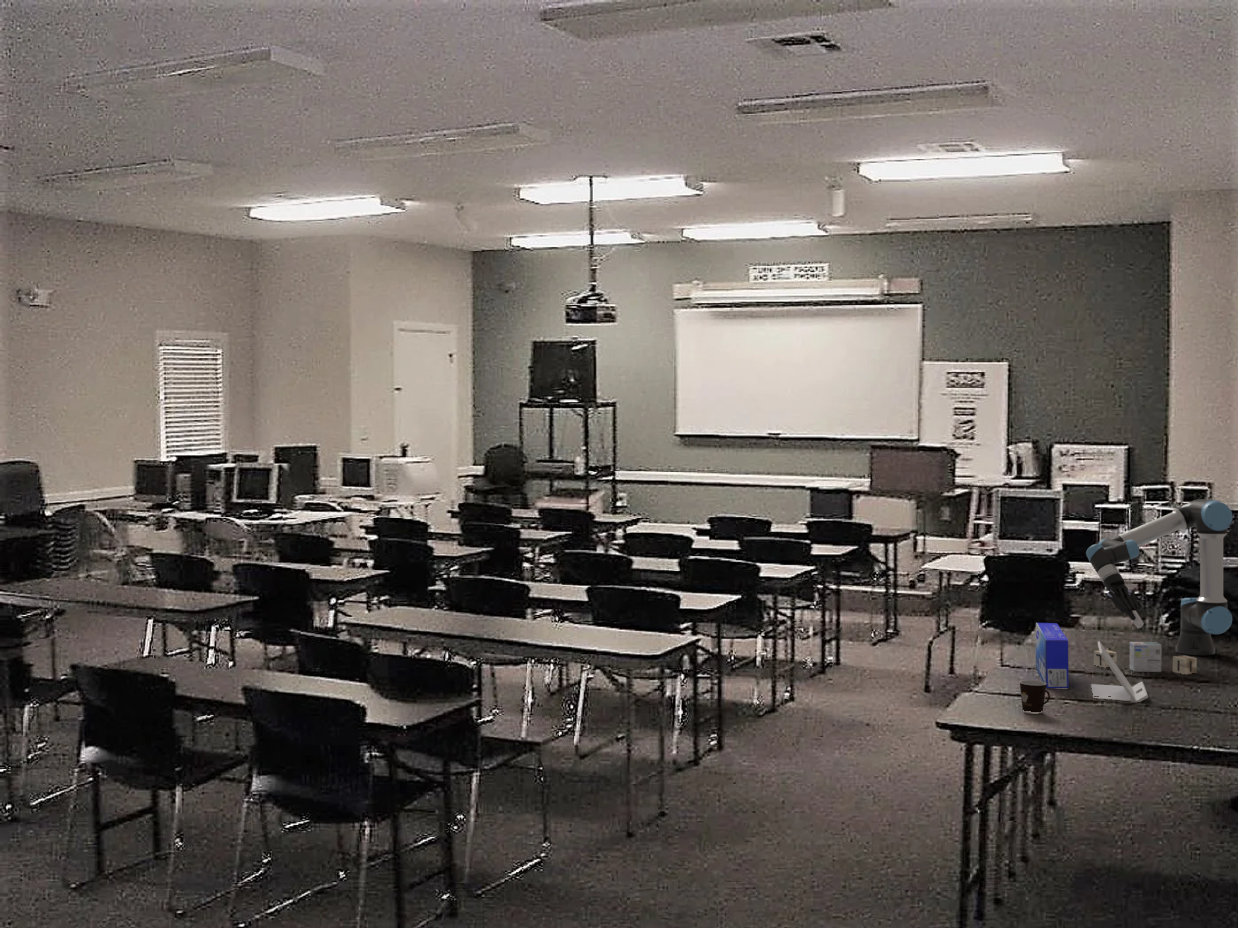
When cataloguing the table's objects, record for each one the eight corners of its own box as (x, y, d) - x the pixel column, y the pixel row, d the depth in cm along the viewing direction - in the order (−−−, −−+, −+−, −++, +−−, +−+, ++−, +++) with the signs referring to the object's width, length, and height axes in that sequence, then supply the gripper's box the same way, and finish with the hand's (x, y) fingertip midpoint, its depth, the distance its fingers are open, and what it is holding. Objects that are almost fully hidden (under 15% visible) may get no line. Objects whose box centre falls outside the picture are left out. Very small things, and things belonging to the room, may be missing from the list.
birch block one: (1184, 670, 524) (1184, 655, 524) (1196, 673, 518) (1197, 658, 518) (1172, 671, 522) (1172, 656, 521) (1184, 674, 516) (1184, 659, 516)
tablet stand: (1093, 700, 471) (1094, 651, 470) (1090, 686, 495) (1091, 640, 494) (1148, 703, 465) (1149, 654, 465) (1143, 689, 489) (1144, 642, 489)
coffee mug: (1016, 709, 455) (1016, 679, 455) (1041, 709, 455) (1042, 680, 454) (1025, 717, 443) (1026, 687, 443) (1051, 717, 443) (1052, 687, 443)
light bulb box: (1156, 669, 527) (1157, 641, 526) (1161, 672, 520) (1162, 644, 520) (1128, 668, 528) (1129, 641, 528) (1133, 671, 521) (1133, 644, 521)
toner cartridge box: (1034, 668, 527) (1035, 622, 526) (1057, 669, 525) (1058, 622, 524) (1044, 689, 489) (1045, 638, 488) (1068, 690, 487) (1069, 639, 486)
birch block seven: (1105, 664, 536) (1105, 649, 535) (1116, 667, 530) (1116, 652, 530) (1093, 665, 533) (1093, 650, 533) (1104, 668, 528) (1104, 653, 527)
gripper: (1119, 583, 545) (1148, 630, 530) (1093, 584, 540) (1122, 632, 525) (1129, 571, 540) (1158, 619, 525) (1103, 573, 535) (1132, 621, 520)
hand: (1140, 625), depth 525 cm, fingers closed
